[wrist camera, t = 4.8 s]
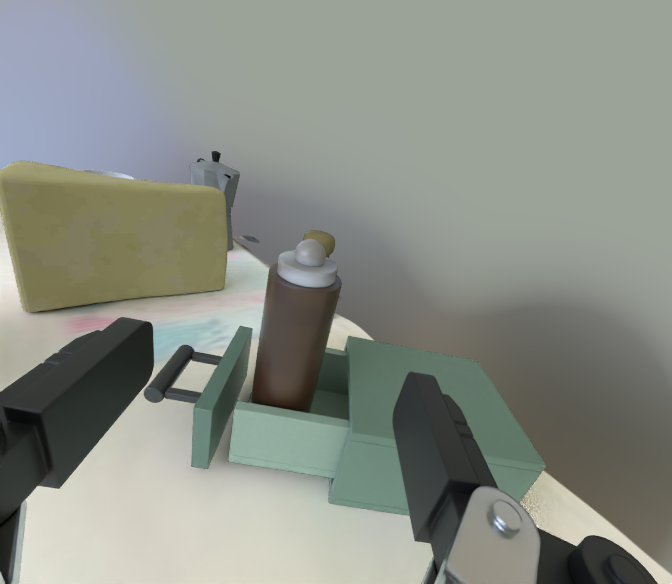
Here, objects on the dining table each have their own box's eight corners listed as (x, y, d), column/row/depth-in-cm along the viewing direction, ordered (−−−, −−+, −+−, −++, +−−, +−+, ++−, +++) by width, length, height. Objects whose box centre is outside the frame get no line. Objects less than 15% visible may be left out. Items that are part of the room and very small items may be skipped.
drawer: (125, 456, 22) (120, 395, 19) (189, 365, 31) (191, 316, 29) (359, 493, 23) (381, 439, 21) (354, 394, 32) (368, 350, 30)
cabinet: (328, 503, 23) (352, 432, 20) (331, 393, 33) (348, 335, 30) (499, 529, 24) (547, 465, 21) (451, 414, 34) (478, 360, 31)
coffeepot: (246, 254, 64) (256, 161, 56) (199, 257, 57) (203, 152, 50) (216, 230, 73) (221, 148, 66) (173, 230, 67) (173, 139, 60)
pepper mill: (235, 418, 25) (257, 229, 19) (280, 393, 29) (312, 226, 22) (272, 460, 23) (313, 258, 16) (317, 426, 26) (365, 250, 20)
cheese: (216, 275, 52) (222, 183, 46) (231, 303, 45) (241, 199, 39) (37, 277, 40) (14, 154, 34) (19, 316, 33) (-15, 169, 27)
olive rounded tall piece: (305, 305, 50) (319, 239, 45) (283, 289, 53) (294, 226, 49) (332, 299, 54) (347, 238, 49) (310, 284, 57) (322, 226, 53)
